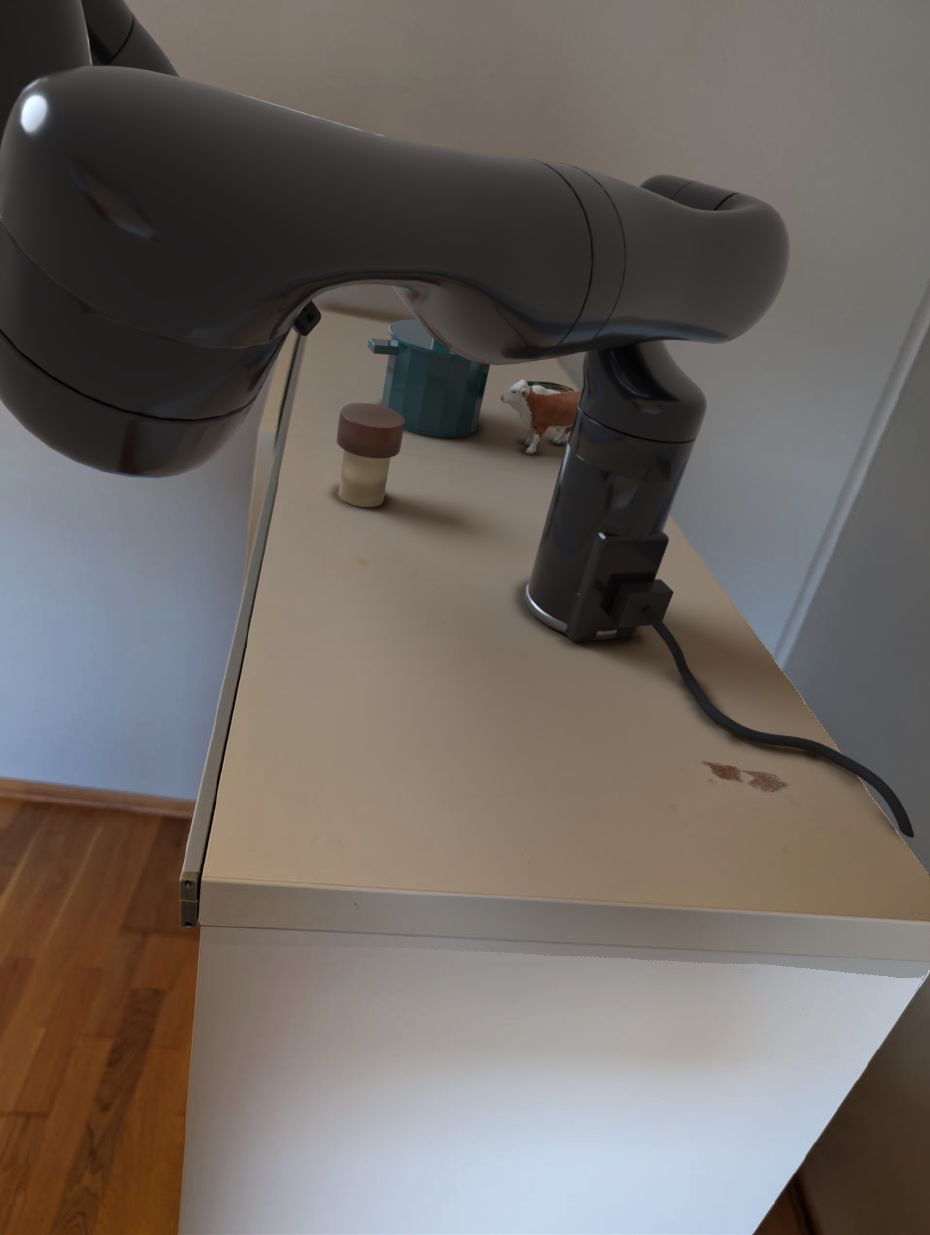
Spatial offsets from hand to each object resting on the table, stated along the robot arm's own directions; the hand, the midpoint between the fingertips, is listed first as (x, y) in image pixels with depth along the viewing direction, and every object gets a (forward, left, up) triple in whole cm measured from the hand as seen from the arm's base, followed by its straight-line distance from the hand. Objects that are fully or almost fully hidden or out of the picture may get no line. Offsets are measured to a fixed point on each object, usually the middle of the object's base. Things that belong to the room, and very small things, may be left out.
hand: (276, 308), depth 66 cm
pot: (+26, -26, -18) cm, 41 cm away
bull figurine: (+18, -38, -19) cm, 46 cm away
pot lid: (+26, -26, -9) cm, 38 cm away
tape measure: (+30, -44, -19) cm, 56 cm away
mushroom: (+5, -11, -18) cm, 22 cm away
